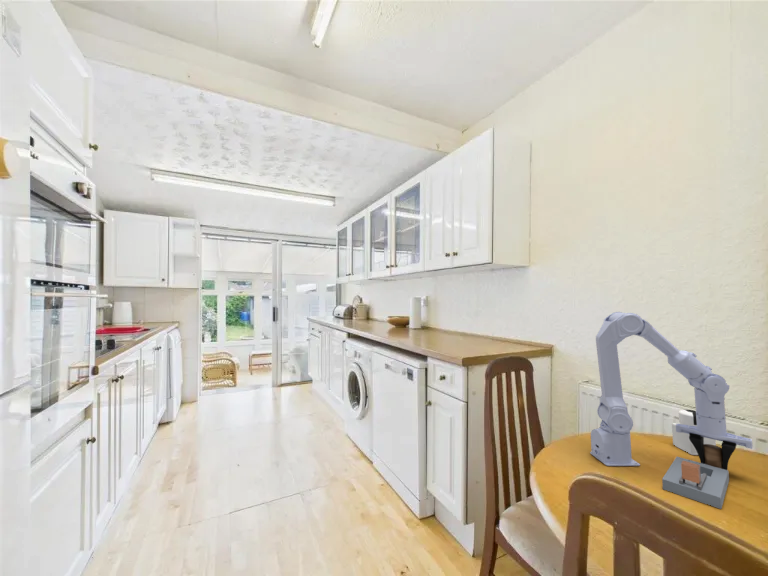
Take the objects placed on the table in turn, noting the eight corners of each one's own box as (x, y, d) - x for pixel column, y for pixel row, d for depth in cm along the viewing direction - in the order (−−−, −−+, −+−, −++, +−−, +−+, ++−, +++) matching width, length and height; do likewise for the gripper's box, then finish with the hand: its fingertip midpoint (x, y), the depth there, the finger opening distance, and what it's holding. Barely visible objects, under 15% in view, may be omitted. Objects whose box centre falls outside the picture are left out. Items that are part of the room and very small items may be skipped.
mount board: (721, 509, 70) (720, 494, 71) (662, 489, 78) (661, 475, 78) (729, 480, 82) (728, 467, 82) (677, 465, 89) (676, 453, 90)
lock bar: (699, 488, 74) (698, 468, 74) (682, 482, 77) (681, 463, 77) (704, 477, 79) (702, 459, 79) (687, 472, 81) (686, 454, 81)
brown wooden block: (714, 474, 84) (712, 450, 85) (701, 467, 88) (699, 444, 88) (728, 474, 84) (726, 449, 85) (714, 467, 88) (712, 444, 88)
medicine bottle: (696, 445, 101) (693, 407, 102) (717, 456, 94) (714, 415, 95) (672, 444, 102) (670, 407, 103) (691, 455, 95) (688, 415, 96)
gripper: (751, 419, 84) (755, 471, 83) (677, 406, 95) (681, 451, 94) (749, 425, 79) (754, 481, 79) (673, 411, 91) (676, 459, 90)
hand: (714, 465), depth 86 cm, fingers closed on brown wooden block, 4 cm apart
